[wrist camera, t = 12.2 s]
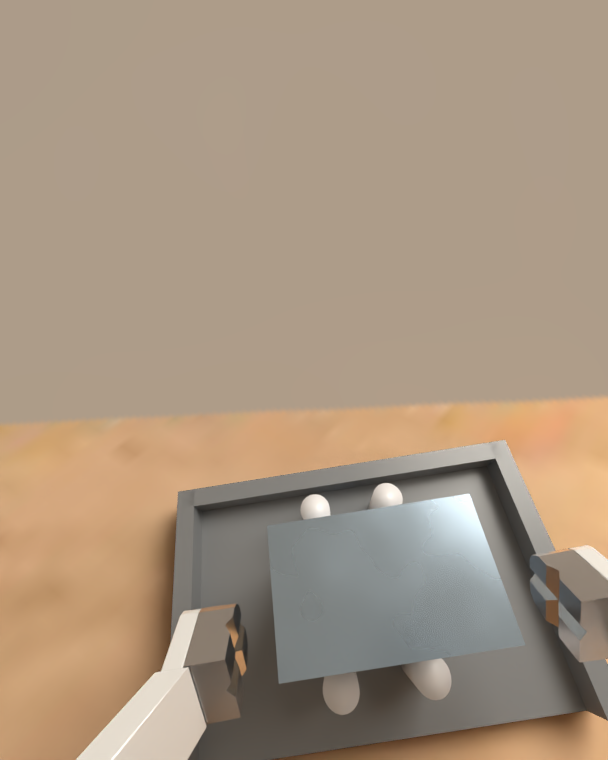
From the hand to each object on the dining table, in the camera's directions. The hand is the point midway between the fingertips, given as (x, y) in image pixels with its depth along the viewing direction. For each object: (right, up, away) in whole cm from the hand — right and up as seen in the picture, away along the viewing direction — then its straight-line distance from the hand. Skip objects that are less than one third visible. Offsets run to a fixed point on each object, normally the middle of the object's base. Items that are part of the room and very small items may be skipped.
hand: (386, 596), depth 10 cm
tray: (0, -4, +7) cm, 8 cm away
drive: (0, -3, +6) cm, 7 cm away
